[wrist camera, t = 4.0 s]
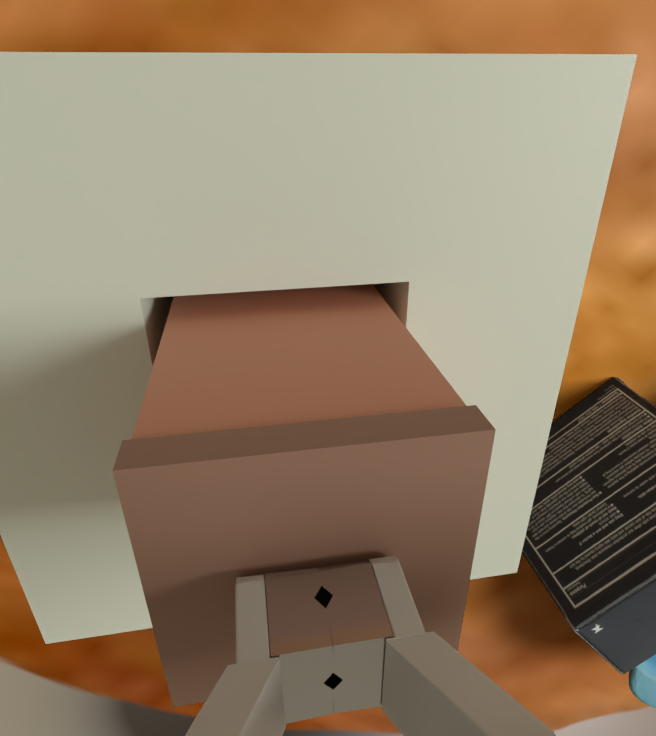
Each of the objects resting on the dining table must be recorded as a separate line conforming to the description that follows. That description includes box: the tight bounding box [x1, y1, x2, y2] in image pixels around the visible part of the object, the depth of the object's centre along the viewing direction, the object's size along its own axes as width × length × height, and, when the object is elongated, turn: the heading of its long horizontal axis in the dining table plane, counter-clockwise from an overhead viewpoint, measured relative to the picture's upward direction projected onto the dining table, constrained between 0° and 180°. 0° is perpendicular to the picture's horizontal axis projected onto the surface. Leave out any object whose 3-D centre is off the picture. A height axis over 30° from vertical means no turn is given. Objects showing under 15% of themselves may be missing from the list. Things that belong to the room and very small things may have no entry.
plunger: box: [112, 284, 496, 707], centre depth 15 cm, size 6×6×12 cm
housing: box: [0, 52, 637, 644], centre depth 20 cm, size 19×19×10 cm
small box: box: [522, 378, 656, 674], centre depth 28 cm, size 11×6×10 cm, turn 131°
